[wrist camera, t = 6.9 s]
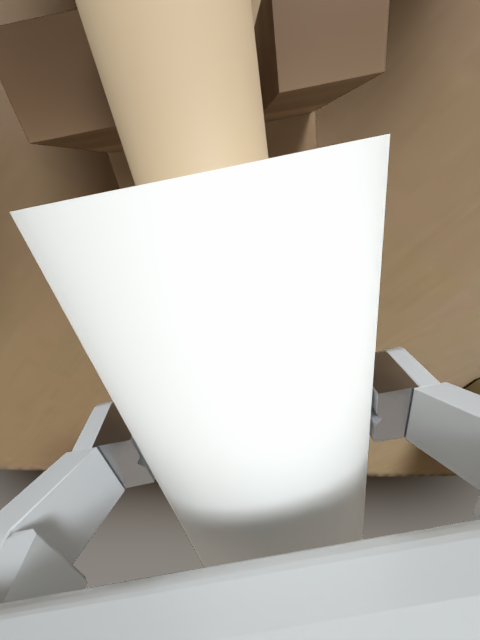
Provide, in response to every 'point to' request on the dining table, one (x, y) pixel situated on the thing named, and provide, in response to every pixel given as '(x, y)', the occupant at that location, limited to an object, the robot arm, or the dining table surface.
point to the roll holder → (273, 63)
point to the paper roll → (224, 285)
